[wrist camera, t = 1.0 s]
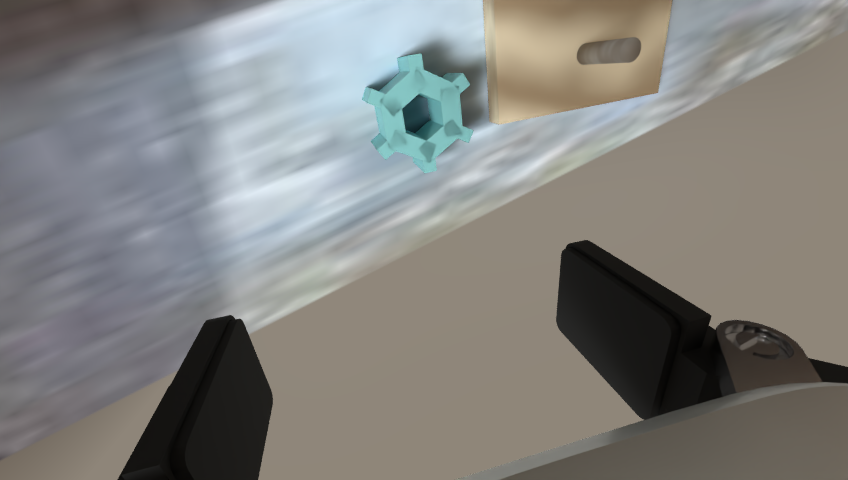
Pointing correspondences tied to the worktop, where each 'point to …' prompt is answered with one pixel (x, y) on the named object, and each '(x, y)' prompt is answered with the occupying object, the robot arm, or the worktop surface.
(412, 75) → the teal gear
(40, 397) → the worktop surface
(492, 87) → the gear board
